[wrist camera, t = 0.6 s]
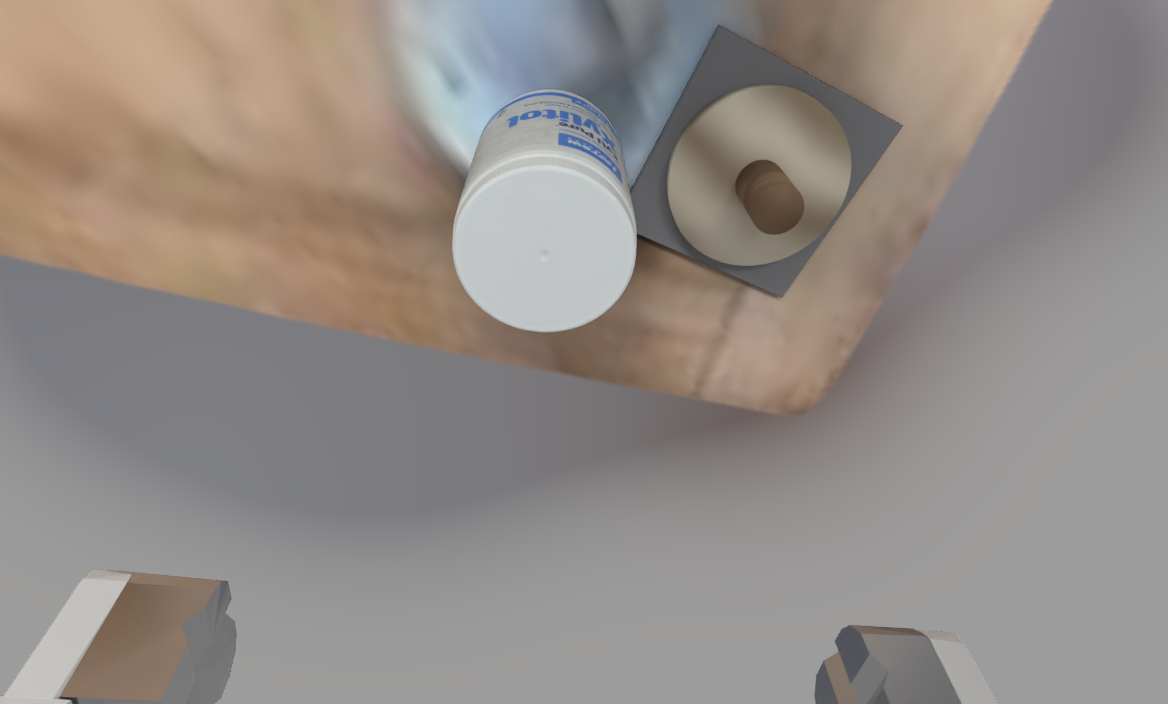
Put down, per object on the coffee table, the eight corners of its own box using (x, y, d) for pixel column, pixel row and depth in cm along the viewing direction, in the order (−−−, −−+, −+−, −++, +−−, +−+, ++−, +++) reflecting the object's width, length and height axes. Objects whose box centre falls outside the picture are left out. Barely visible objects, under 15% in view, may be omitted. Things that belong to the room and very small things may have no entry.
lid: (725, 50, 44) (748, 71, 39) (881, 133, 48) (919, 163, 43) (634, 217, 50) (643, 254, 45) (778, 281, 53) (802, 323, 48)
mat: (718, 25, 44) (720, 26, 44) (899, 123, 48) (902, 126, 47) (614, 220, 51) (615, 223, 50) (779, 293, 55) (781, 297, 54)
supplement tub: (620, 82, 46) (645, 157, 34) (621, 222, 51) (643, 331, 39) (466, 89, 46) (435, 167, 33) (483, 229, 51) (462, 341, 39)
